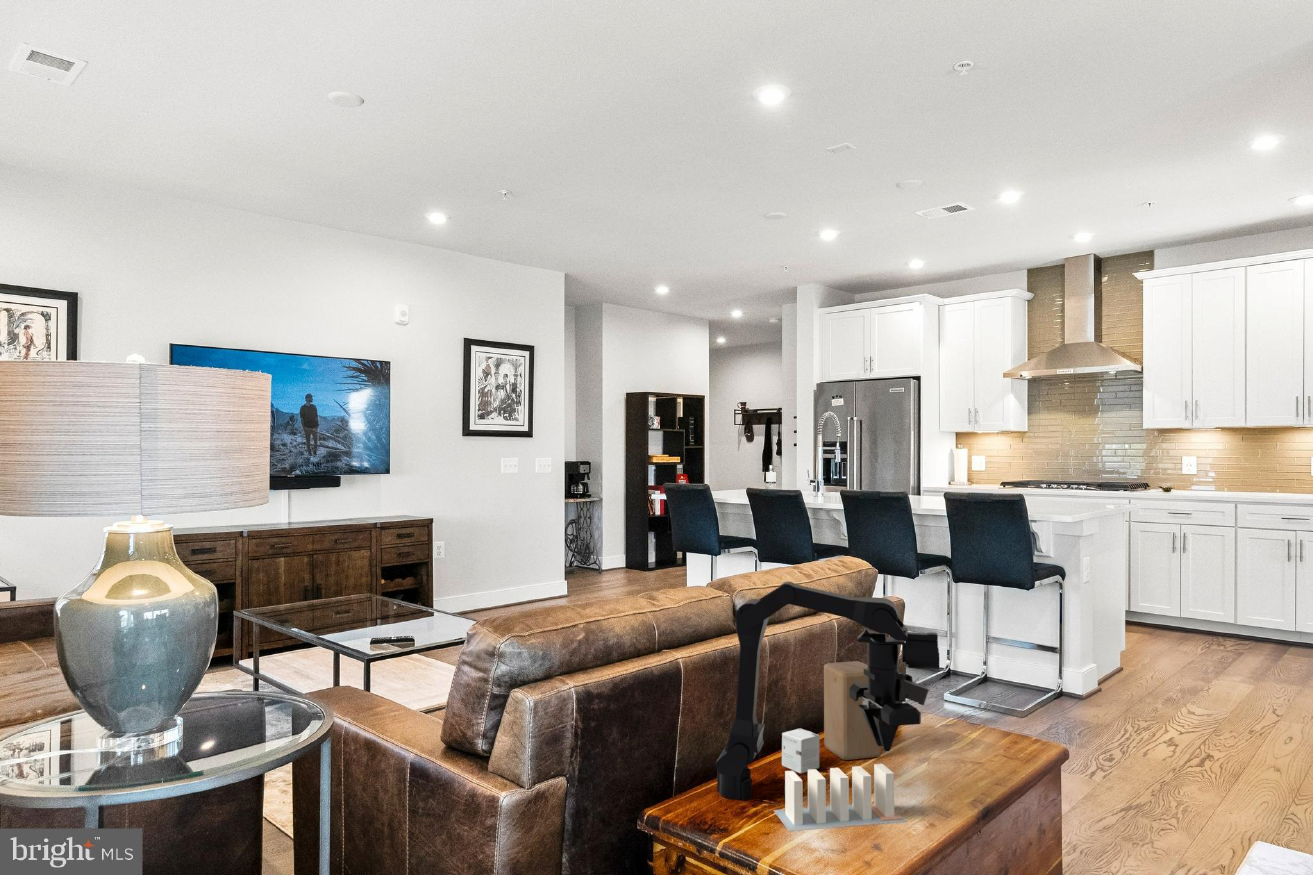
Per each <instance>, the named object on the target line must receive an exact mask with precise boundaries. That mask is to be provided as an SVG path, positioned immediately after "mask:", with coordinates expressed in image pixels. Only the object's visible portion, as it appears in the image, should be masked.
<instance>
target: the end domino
mask: <svg viewBox="0 0 1313 875" xmlns="http://www.w3.org/2000/svg"><path fill="white" fill-rule="evenodd" d="M873 765H874V766H873V771H874V772H873V773H874V775H873V783H874V786H873V787H874V788H873V789H874V790H873V791H874V792H873V793H874V800H873V801H874V802H873V803H875V807H876V808H877V809H878V810H879V811H880V812H881V813H882V814H883V815H885V816H886V817H893V816H894V810H895V775H894V774H895V773H894V772H893V771H891V770H890V768H888V767H887V766H886V765H884V764H883V763H874V764H873Z"/></svg>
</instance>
